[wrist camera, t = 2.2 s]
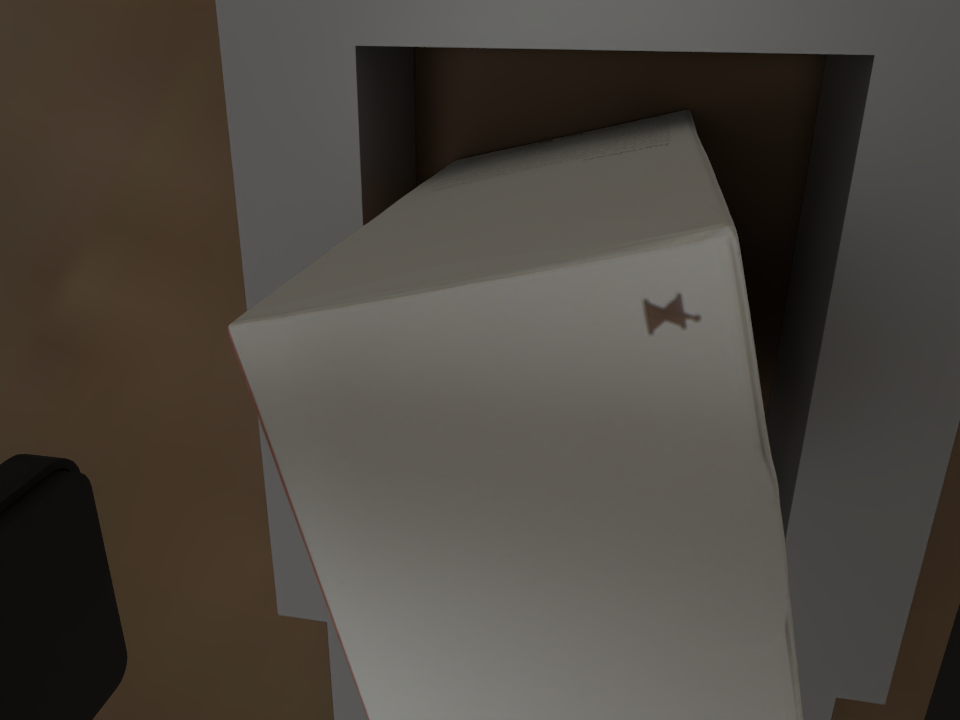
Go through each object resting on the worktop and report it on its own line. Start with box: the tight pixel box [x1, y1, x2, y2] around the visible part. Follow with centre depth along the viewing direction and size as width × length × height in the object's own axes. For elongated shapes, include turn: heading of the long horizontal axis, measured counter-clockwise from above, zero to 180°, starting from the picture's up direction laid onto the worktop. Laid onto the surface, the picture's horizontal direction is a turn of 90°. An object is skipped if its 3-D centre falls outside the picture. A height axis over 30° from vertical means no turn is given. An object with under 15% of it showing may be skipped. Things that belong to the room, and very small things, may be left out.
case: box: [215, 0, 960, 720], centre depth 23 cm, size 16×34×4 cm, turn 0°
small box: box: [227, 110, 803, 720], centre depth 16 cm, size 8×6×13 cm
